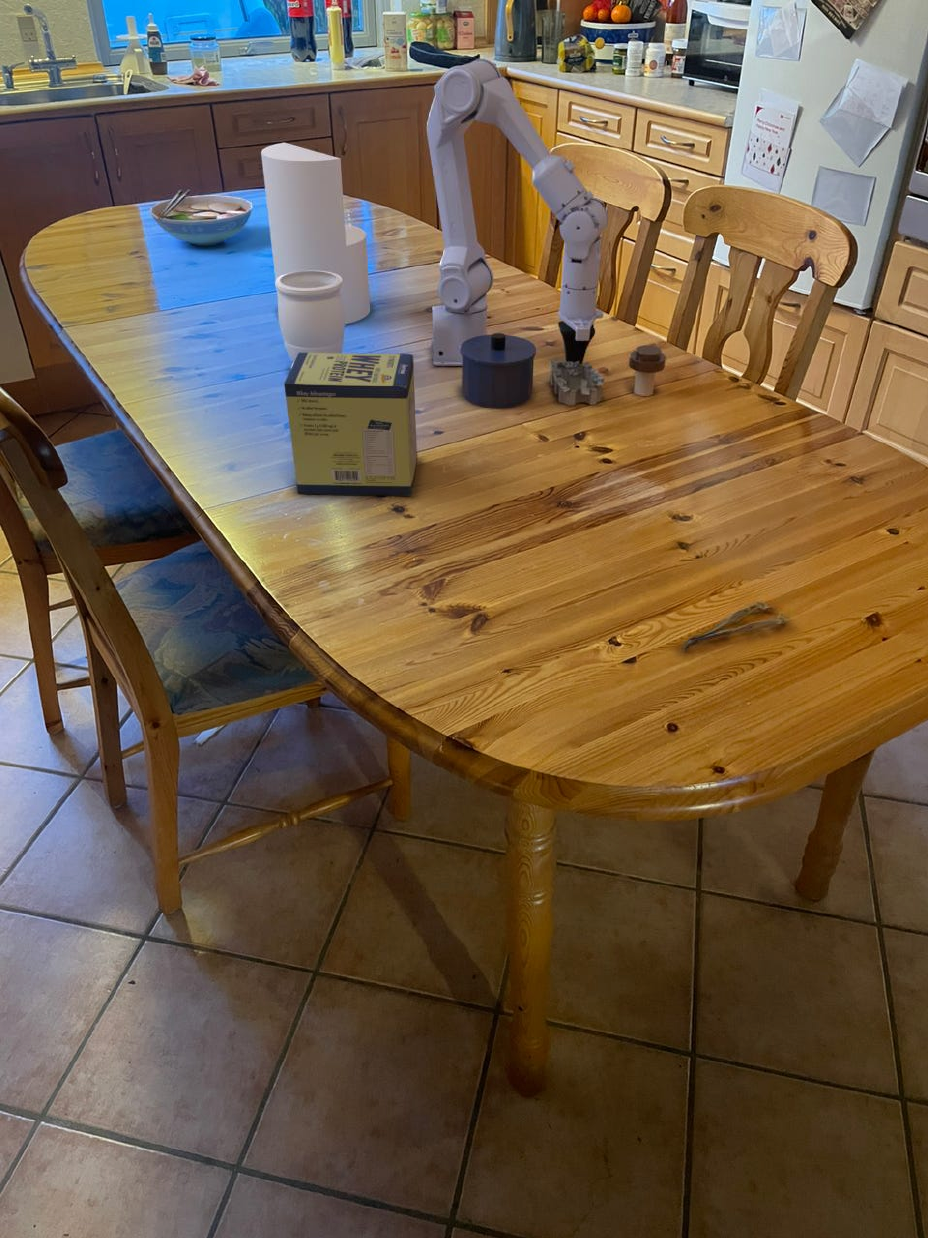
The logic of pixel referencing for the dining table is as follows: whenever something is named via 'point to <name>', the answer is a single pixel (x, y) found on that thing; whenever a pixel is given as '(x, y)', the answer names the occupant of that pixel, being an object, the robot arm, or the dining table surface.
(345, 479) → the protein box
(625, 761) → the dining table surface
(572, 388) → the egg carton
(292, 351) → the jar
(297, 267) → the cylinder
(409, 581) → the dining table surface
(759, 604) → the tongs
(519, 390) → the pot
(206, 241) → the ramen bowl
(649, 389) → the mushroom
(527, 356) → the pot lid
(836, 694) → the dining table surface
